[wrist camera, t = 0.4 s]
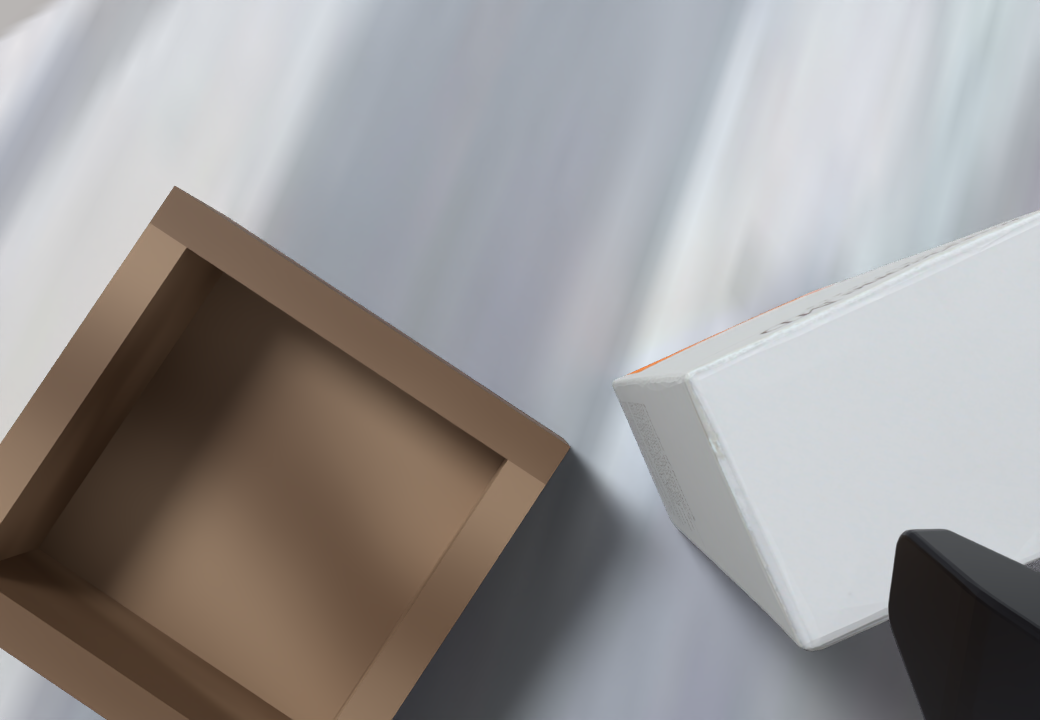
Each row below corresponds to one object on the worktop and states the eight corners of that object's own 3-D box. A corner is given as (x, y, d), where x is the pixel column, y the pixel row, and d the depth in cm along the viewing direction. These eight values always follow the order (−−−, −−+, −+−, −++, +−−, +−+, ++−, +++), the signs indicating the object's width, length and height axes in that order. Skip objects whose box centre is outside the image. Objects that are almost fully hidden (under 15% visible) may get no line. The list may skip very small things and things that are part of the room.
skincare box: (812, 285, 24) (1100, 181, 12) (880, 435, 24) (1241, 479, 12) (599, 380, 24) (676, 369, 12) (667, 531, 24) (813, 673, 12)
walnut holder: (336, 784, 24) (304, 852, 20) (-4, 555, 24) (-94, 584, 20) (563, 438, 24) (570, 447, 20) (225, 215, 24) (174, 185, 21)
